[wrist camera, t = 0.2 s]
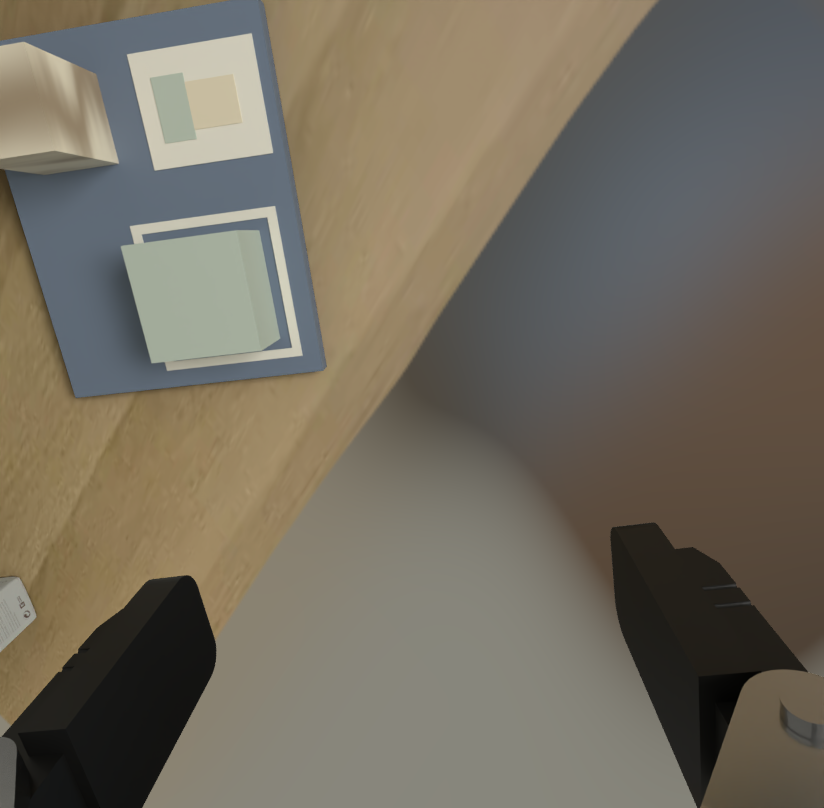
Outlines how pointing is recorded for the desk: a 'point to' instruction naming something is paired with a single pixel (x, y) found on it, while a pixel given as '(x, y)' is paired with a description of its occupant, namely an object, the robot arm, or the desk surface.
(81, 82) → the maple block
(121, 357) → the build board
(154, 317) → the base block
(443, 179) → the desk surface
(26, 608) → the skincare box
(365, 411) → the desk surface
